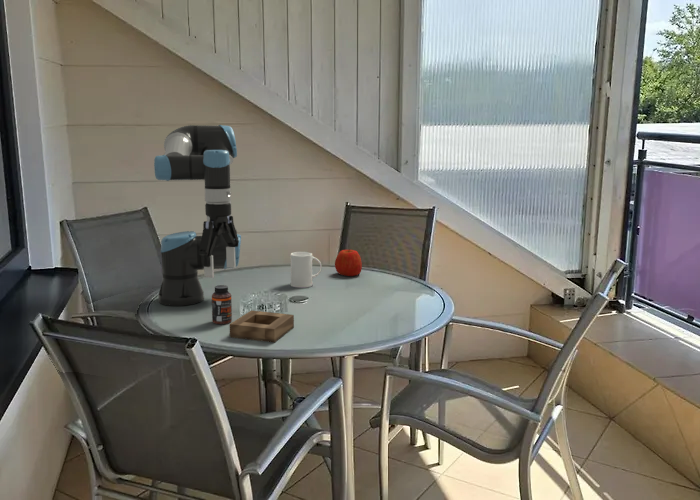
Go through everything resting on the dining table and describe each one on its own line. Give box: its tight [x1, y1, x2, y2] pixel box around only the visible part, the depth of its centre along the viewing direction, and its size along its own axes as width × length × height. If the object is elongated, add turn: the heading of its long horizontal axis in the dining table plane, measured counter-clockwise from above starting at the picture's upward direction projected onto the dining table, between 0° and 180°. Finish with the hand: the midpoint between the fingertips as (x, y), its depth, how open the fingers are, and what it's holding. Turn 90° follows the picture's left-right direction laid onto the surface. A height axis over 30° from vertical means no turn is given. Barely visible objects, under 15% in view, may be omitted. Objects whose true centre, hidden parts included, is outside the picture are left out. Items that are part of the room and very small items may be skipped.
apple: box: [334, 248, 363, 277], centre depth 259 cm, size 11×11×11 cm
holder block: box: [229, 310, 295, 344], centre depth 190 cm, size 14×14×4 cm
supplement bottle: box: [211, 284, 233, 325], centre depth 198 cm, size 6×6×11 cm
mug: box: [289, 251, 323, 289], centre depth 243 cm, size 12×8×12 cm
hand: (220, 272), depth 196 cm, fingers open, 13 cm apart
